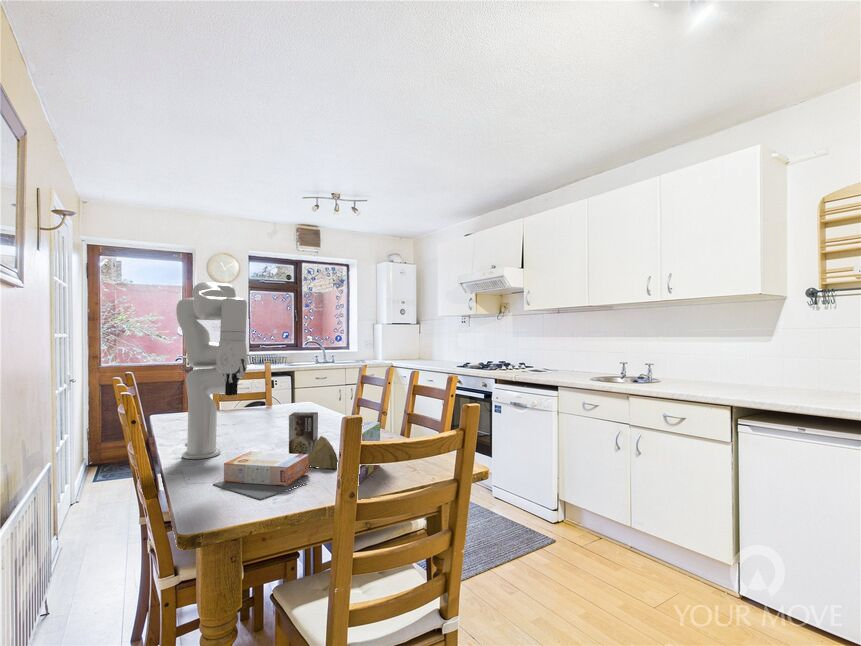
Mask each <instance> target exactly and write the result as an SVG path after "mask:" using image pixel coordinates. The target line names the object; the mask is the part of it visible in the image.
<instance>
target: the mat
mask: <svg viewBox="0 0 861 646" xmlns="http://www.w3.org/2000/svg"><path fill="white" fill-rule="evenodd" d="M306 483H307V482H305V481H301V480H299V479H297V480H295V481H294V482H292V483H291V484H289V485H288V486H281V485H267V484H252V483H238V482H224V480H221V481H218V482H215V483H212V486H215V487H217V486H218V487H217V488H220V487H221V489H224V490H227V491H230V492H232V493H237V494H240V495H242V494H243V496H246V497H248V498H249V497H250V498H252V499H255V498H256V499H255V500H258V499H259V500H258V501H263V500H265V499H268V498H271V497H274V496H276V494H277V495H280V494H282V493H281V492H283V491H286V490H288V491H290V490H289V489H291V490H293V489H292V488H294V487H297V486H300V485H303V484H306ZM306 485H307V484H306ZM303 486H304V485H303ZM300 487H301V486H300ZM297 488H298V487H297ZM294 489H295V488H294ZM286 492H287V491H286ZM279 493H280V494H279ZM283 493H284V492H283ZM273 495H274V496H273ZM270 496H271V497H270ZM267 497H268V498H267ZM264 498H265V499H264Z"/></svg>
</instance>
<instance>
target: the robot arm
mask: <svg viewBox="0 0 861 646" xmlns="http://www.w3.org/2000/svg"><path fill="white" fill-rule="evenodd" d="M191 293H192V295H191V296H192V297H185V298H182V299H180V300H179V301H178V302H177V304H176V310H175V311H176V320H177V322H178V325H179V327H180V330H181V332H182V333H183V336H184V341H185V342H184V343H185V351H186V359H187V362H188V364H189V366H190V367H191V368H196V369H193V370H191V371H189V372H188V373H187V374H186V376H185V377H186V378H185V385H186V386H185V387H186V394H187V438H186V439H187V441H186V443H184V446H185V447H186V450H185V451H184V452H182V454H181V456H182V458H183V459H187V460H201V459H203V460H204V459H209V458H213V457H217V456H219V455H220V454H221V452H222V451H221V449H220V448H218V447H217V424H218V423H217V419H218V417H217V416H218V405H217V403H216V402H215V401H214V399H212V397H211V395H217V394H224V395H225V396H237V395H238V385H239V381H240V379H242V378H244V376H245V373H246V371H247V368H248V352H247V351H248V350H247V343H246V342H247V313H248V311H247V310H248V305H247V304H248V302H247V300H246V299H245V298H242V297H241V298H240V297H237V294H236V289H235V288H234V286H233V285H231V284H229V283H222V282H221V283H220V282H210V281H205V282H199V283H197V284H195V286H193V289H192V292H191ZM199 321H220V323H219V324H220V325H219V326H220V330H219V341H218V342H212V341H211V339H210V333H209V331H208V329H207V328H206V327H205V326H204V325H203V324H201V322H199Z"/></svg>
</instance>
